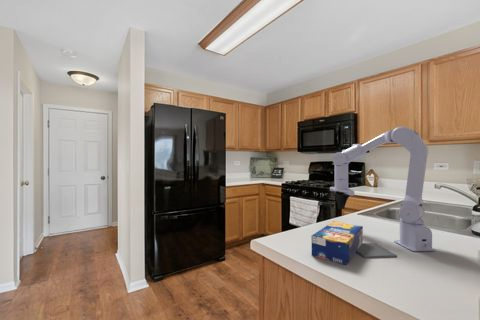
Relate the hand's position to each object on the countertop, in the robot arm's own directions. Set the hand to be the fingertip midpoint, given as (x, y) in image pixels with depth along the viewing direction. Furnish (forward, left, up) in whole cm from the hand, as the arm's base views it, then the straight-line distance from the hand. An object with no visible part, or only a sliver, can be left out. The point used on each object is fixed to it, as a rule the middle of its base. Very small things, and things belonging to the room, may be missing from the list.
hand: (341, 208), depth 104 cm
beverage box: (-14, +4, -6) cm, 16 cm away
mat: (-24, +2, -9) cm, 25 cm away
